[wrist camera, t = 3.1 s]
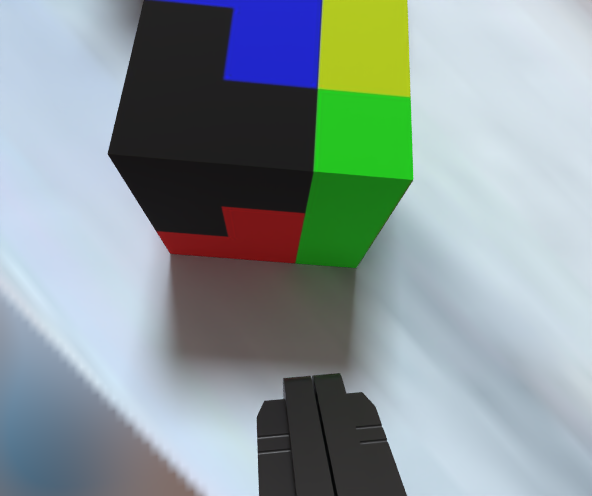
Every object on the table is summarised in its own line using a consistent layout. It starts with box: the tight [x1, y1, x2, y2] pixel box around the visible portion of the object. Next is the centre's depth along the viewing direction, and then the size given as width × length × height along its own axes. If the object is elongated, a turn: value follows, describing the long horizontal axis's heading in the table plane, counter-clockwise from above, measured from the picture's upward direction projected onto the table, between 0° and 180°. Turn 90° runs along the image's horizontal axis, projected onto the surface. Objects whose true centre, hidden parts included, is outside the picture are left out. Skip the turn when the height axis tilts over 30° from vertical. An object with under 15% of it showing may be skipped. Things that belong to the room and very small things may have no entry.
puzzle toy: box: [108, 0, 413, 268], centre depth 21 cm, size 10×10×10 cm
